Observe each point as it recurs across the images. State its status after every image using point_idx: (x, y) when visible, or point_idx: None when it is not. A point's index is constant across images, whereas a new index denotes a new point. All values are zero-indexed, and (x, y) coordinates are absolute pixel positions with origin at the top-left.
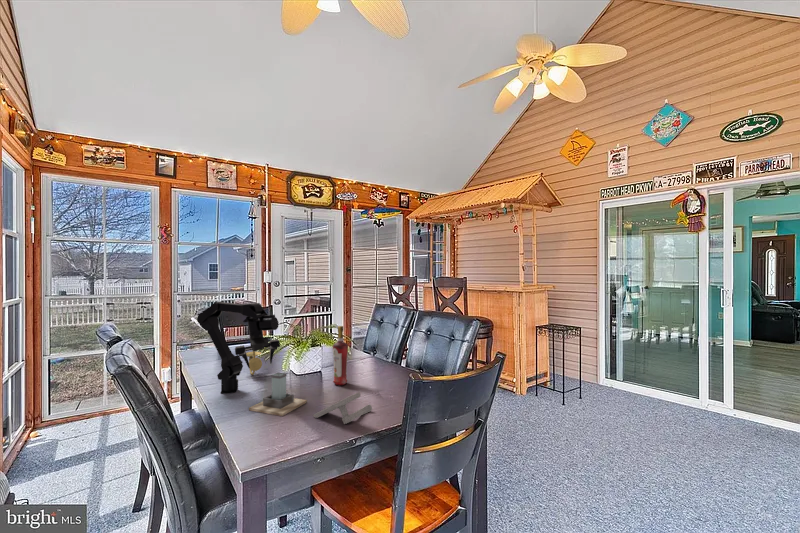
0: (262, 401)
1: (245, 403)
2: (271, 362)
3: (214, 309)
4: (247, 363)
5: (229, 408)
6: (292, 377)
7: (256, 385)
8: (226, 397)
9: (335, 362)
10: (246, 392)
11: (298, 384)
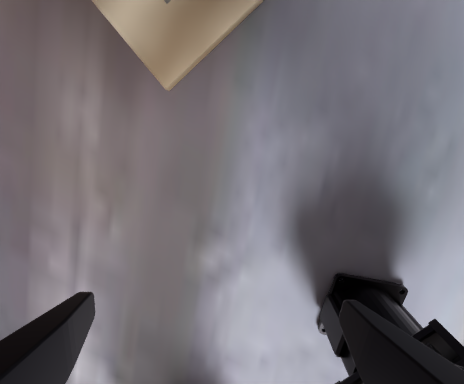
0: (254, 2)
1: (335, 70)
2: (68, 300)
3: None
4: (414, 346)
5: (434, 22)
6: None
7: (228, 327)
8: (394, 221)
9: None
10: (291, 250)
11: (37, 252)
